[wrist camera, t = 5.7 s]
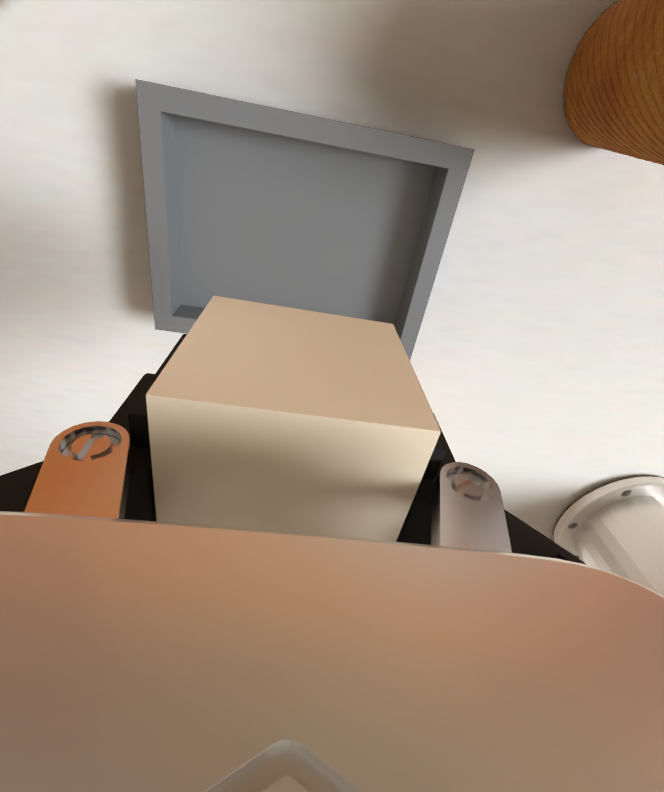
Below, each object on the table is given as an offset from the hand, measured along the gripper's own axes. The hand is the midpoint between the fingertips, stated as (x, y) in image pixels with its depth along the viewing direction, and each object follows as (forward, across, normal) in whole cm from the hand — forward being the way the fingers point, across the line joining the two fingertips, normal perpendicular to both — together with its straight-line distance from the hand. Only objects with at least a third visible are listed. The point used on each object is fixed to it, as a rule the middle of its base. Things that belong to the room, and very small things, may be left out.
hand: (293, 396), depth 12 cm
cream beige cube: (+1, 0, 0) cm, 1 cm away
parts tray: (+15, 0, -2) cm, 15 cm away
